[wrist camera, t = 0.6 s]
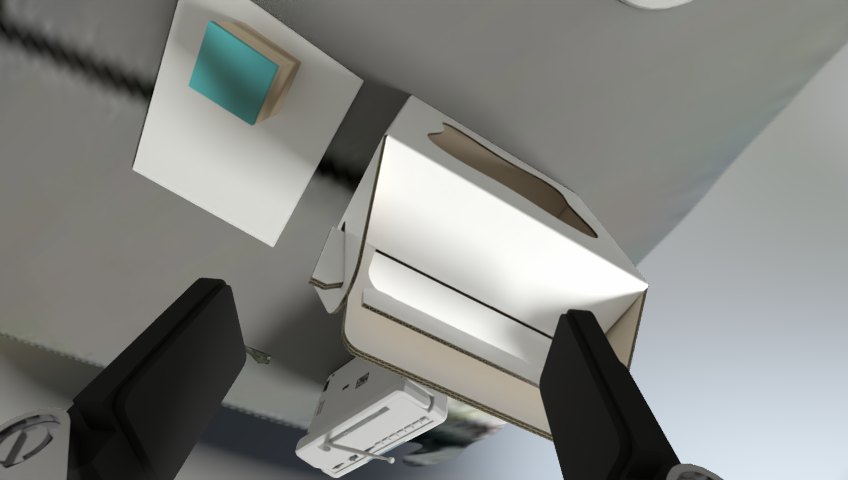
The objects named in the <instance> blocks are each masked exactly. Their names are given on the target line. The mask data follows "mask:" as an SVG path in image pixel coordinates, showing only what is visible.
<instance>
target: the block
mask: <svg viewBox="0 0 848 480" xmlns="http://www.w3.org/2000/svg"><path fill="white" fill-rule="evenodd" d="M300 65H301V61H299V60H298V59H296V58H295V57H293V56H292V55H290V54H289V53H288V52H286V51H285V50H283V49H282V48H280V47H279V46H277V45H276V44H275V43H273V42H272V41H270V40H269V39H267V38H266V37H264V36H263V35H262V34H260V33H259V32H257V31H256V30H254V29H253V28H252V27H250V26H249V25H247V24H246V23H238V22H223V21H209V22H208V25H207V28H206V31H205V35H204V38H203V41H202V44H201V47H200V51H199V54H198V57H197V60H196V63H195V66H194V70H193V73H192V76H191V79H190V82H189V85H188V86H189V87H191V88H192V89H194V90H195V91H197V92H199V93H200V94H202V95H203V96H205V97H207V98H208V99H210V100H211V101H213V102H214V103H216V104H218V105H219V106H221V107H222V108H224V109H226V110H227V111H229V112H230V113H232V114H234V115H235V116H237V117H238V118H240V119H242V120H243V121H245V122H246V123H248V124H250V125H251V126H252V125H255V124H257V123H259V122H261V121H263V120H266V119H268V118H270V117H272V116H275V115H277V114H278V113H279V111H280V109H281V107H282V104H283V102H284V100H285V98H286V96H287V93H288V91H289V89H290V87H291V85H292V82H293V80H294V78H295V76H296V73H297V71H298V69H299V67H300Z"/></svg>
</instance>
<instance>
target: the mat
mask: <svg viewBox="0 0 848 480" xmlns="http://www.w3.org/2000/svg"><path fill="white" fill-rule="evenodd" d="M209 21H223V22H238V23H246V24H247V25H249V26H250V27H252V28H253V29H254V30H256V31H257V32H259V33H260V34H262V35H263V36H264V37H266V38H267V39H269V40H270V41H272V42H273V43H275V44H276V45H277V46H279V47H280V48H282V49H283V50H285V51H286V52H288V53H289V54H290V55H292V56H293V57H295V58H296V59H298V60H299V61H301V65H300V67H299V69H298V71H297V73H296V76H295V78H294V80H293V82H292V85H291V87H290V89H289V91H288V93H287V96H286V98H285V100H284V102H283V104H282V107H281V109H280V111H279V113H278V114H277V115H275V116H272V117H270V118H268V119H266V120H263V121H261V122H259V123H257V124H255V125H252V126H251V125H250V124H248V123H246V122H245V121H243V120H242V119H240V118H238V117H237V116H235V115H234V114H232V113H230V112H229V111H227V110H226V109H224V108H222V107H221V106H219V105H218V104H216V103H214V102H213V101H211V100H210V99H208V98H207V97H205V96H203V95H202V94H200V93H199V92H197V91H195V90H194V89H192V88H191V87H189V86H188V85H189V82H190V79H191V76H192V73H193V70H194V66H195V63H196V60H197V57H198V54H199V51H200V47H201V44H202V41H203V38H204V35H205V31H206V28H207V25H208V22H209ZM363 82H364V81H363V80H362V79H361V78H359V77H358V76H356V75H355V74H354V73H352V72H351V71H349V70H348V69H347V68H345V67H344V66H342V65H341V64H340V63H338V62H337V61H335V60H334V59H333V58H331V57H330V56H328V55H327V54H326V53H324V52H323V51H321V50H320V49H318V48H317V47H316V46H314V45H313V44H311V43H310V42H309V41H307V40H306V39H304V38H303V37H302V36H300V35H299V34H297V33H296V32H295V31H293V30H292V29H290V28H289V27H288V26H286V25H285V24H283V23H282V22H281V21H279V20H278V19H276V18H275V17H273V16H272V15H271V14H269V13H268V12H266V11H265V10H264V9H262V8H261V7H259V6H258V5H257V4H255V3H254V2H252V1H251V0H178V4H177V7H176V11H175V15H174V18H173V22H172V26H171V29H170V33H169V37H168V41H167V44H166V48H165V52H164V55H163V59H162V63H161V66H160V70H159V74H158V77H157V81H156V85H155V89H154V92H153V96H152V100H151V103H150V107H149V111H148V114H147V118H146V122H145V126H144V129H143V133H142V137H141V140H140V144H139V148H138V151H137V155H136V159H135V163H134V166H133V170H134V171H136V172H138V173H140V174H142V175H143V176H145V177H147V178H149V179H151V180H153V181H154V182H156V183H158V184H160V185H162V186H163V187H165V188H167V189H169V190H171V191H172V192H174V193H176V194H178V195H180V196H181V197H183V198H185V199H187V200H189V201H190V202H192V203H194V204H196V205H198V206H199V207H201V208H203V209H205V210H207V211H209V212H210V213H212V214H214V215H216V216H218V217H219V218H221V219H223V220H225V221H227V222H228V223H230V224H232V225H234V226H236V227H237V228H239V229H241V230H243V231H245V232H246V233H248V234H250V235H252V236H254V237H256V238H257V239H259V240H261V241H263V242H265V243H266V244H268V245H270V246H272V247H274V245H275V243H276V241H277V240H278V238H279V236H280V234H281V232H282V230H283V229H284V227H285V225H286V223H287V221H288V219H289V218H290V216H291V214H292V212H293V210H294V208H295V207H296V205H297V203H298V201H299V199H300V197H301V196H302V194H303V192H304V190H305V188H306V186H307V185H308V183H309V181H310V179H311V177H312V175H313V174H314V172H315V170H316V168H317V166H318V164H319V163H320V161H321V159H322V157H323V155H324V153H325V152H326V150H327V148H328V146H329V144H330V142H331V141H332V139H333V137H334V135H335V133H336V131H337V130H338V128H339V126H340V124H341V122H342V120H343V119H344V117H345V115H346V113H347V111H348V109H349V108H350V106H351V104H352V102H353V100H354V99H355V97H356V95H357V93H358V91H359V89H360V88H361V86H362V84H363Z"/></svg>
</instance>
